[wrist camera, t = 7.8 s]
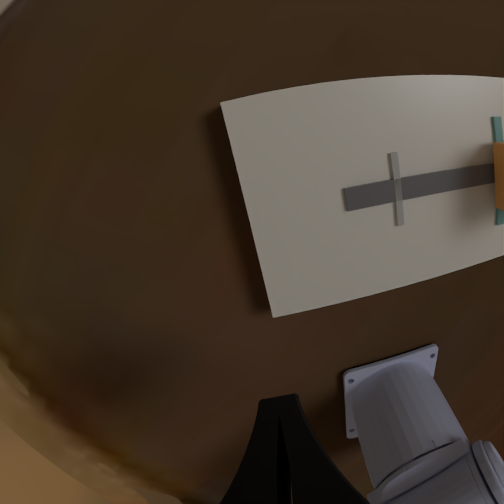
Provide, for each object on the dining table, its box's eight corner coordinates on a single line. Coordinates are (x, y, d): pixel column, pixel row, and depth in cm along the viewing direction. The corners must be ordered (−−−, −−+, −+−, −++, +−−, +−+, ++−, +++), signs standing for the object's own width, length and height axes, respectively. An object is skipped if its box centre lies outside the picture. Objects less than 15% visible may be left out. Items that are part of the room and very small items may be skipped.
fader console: (566, 221, 18) (578, 227, 16) (271, 304, 20) (273, 320, 18) (562, 88, 13) (576, 89, 12) (222, 104, 15) (219, 102, 14)
